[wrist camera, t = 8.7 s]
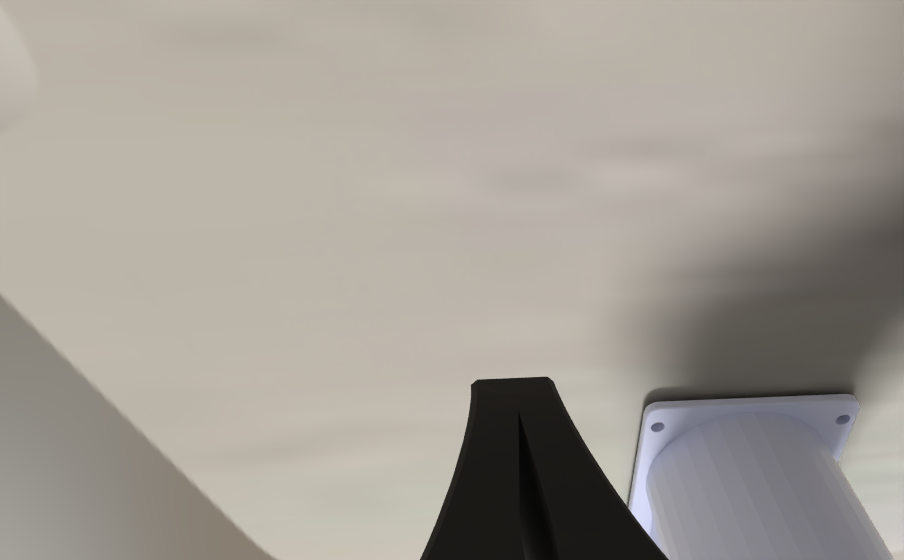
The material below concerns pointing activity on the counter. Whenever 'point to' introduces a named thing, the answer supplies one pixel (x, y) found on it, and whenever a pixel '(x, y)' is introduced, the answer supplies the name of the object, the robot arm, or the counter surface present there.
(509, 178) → the counter surface
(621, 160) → the counter surface
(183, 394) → the counter surface
